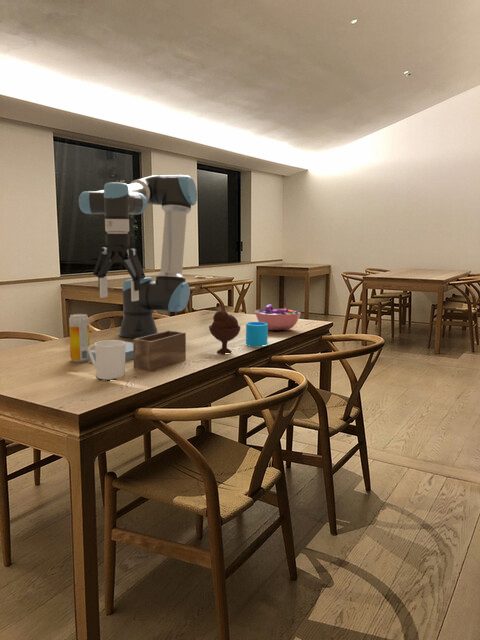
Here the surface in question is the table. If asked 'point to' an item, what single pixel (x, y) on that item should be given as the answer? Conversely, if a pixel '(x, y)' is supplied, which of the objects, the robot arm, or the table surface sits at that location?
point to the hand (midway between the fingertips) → (119, 299)
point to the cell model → (277, 318)
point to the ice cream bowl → (224, 329)
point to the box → (159, 350)
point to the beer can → (79, 337)
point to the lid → (128, 352)
